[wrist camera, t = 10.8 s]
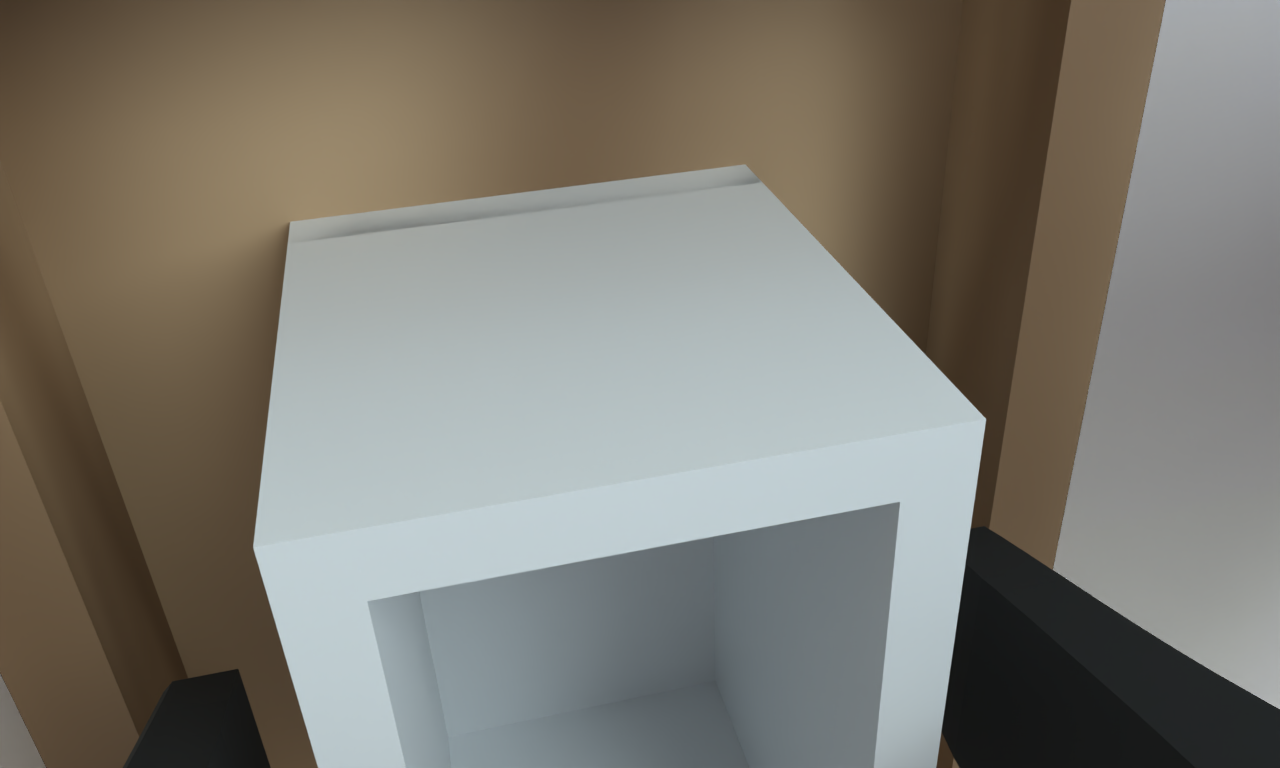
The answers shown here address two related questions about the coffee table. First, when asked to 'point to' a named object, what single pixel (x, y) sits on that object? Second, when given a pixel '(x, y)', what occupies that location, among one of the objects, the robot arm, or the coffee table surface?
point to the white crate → (608, 488)
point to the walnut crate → (467, 169)
